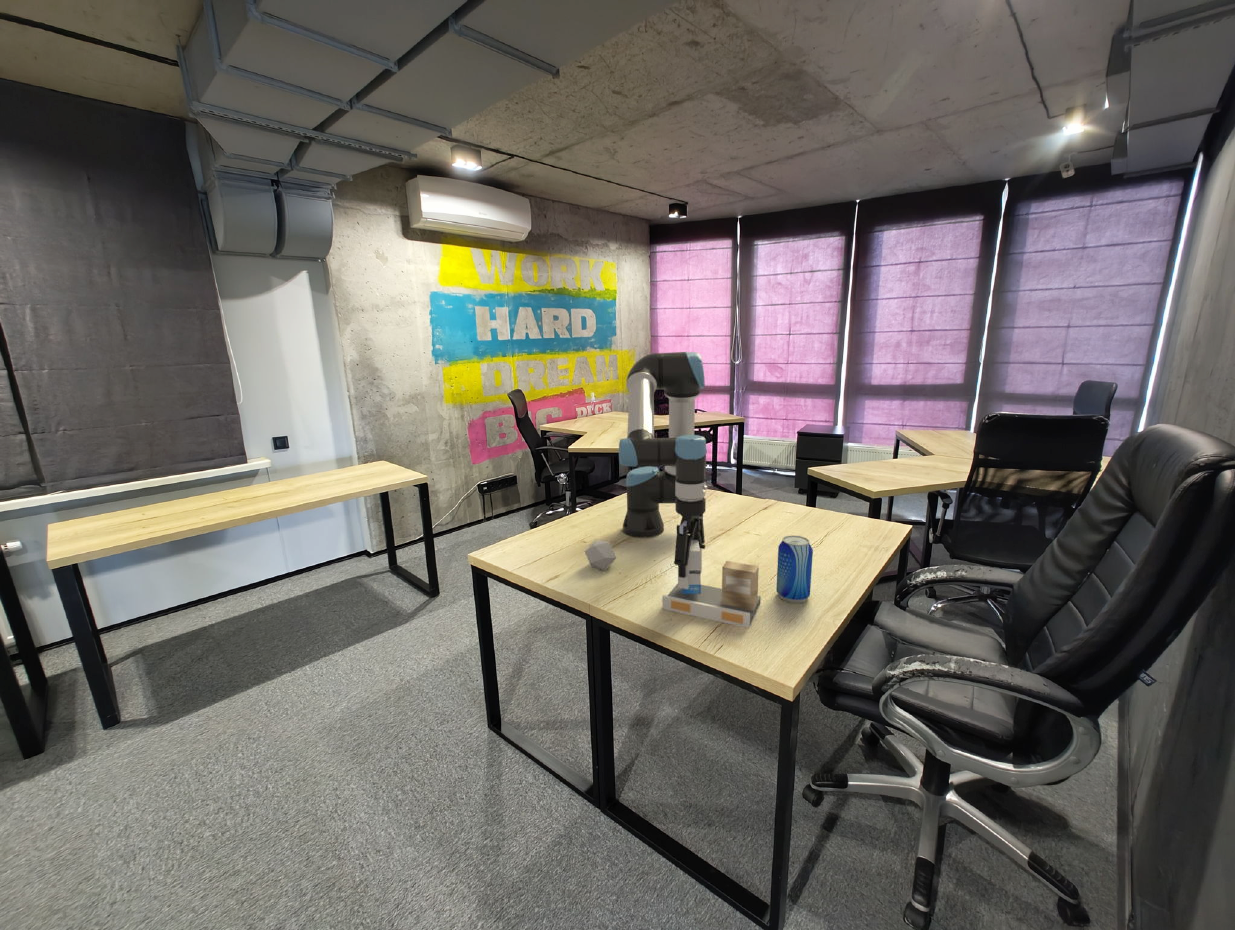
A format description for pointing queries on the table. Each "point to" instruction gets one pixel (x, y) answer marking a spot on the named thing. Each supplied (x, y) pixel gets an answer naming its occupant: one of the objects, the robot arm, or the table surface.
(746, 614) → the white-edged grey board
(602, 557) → the die
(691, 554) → the ink box
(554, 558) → the table surface
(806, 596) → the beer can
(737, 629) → the table surface
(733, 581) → the brown cardboard box
